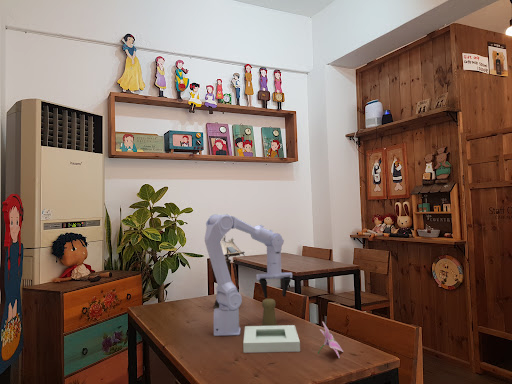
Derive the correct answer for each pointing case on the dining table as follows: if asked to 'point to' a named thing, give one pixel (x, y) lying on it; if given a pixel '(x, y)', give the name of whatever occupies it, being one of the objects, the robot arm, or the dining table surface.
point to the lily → (330, 340)
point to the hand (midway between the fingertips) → (274, 296)
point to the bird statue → (230, 250)
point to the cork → (269, 313)
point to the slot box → (271, 339)
